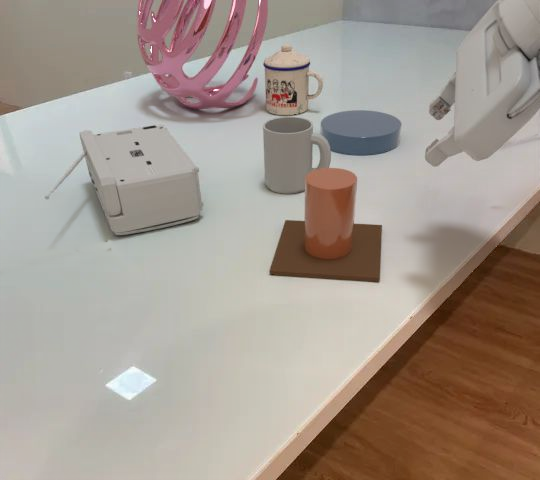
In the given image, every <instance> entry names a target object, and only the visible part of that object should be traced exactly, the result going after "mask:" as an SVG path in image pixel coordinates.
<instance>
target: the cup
mask: <svg viewBox="0 0 540 480" xmlns="http://www.w3.org/2000/svg"><path fill="white" fill-rule="evenodd" d="M262 131H263V132H262V137H263V139H262V140H263V167H264V183H265V185H266V187H267V189H269V191H271V192H273V193H277V194H284V195H292V194H298V193H302V192H305V177H306V175H307V174H308V173H310V172H312V171H314V170H317V169H322V168H330V166H331V162H332V151H331V150H330V146H329V143H328V141H327V140H326V139H325V138H324V136H323V135H320V133H318V132H314V123H313V122H312V121H311V120H309V119H308V118H304V117H300V116H299V117H298V116H279V117H275V118H271V119H268V120H266V121H265V122H264V123H263V124H262ZM313 145H316V146H317V147H318V151H319V161H318V162H319V163H318V164H317V166H316V167H313Z"/></svg>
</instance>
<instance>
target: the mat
mask: <svg viewBox="0 0 540 480" xmlns="http://www.w3.org/2000/svg"><path fill="white" fill-rule="evenodd" d="M304 224H305V220H295V219H294V220H292V219H285V220H284V223H283V227H282V230H281V233H280V236H279V239H278V243H277V245H276V249H275V251H274V254H273V258H272V261H271V265H270V267H269V275H270V274H274V275H273V276H281V275H286V276H285V277H296V276H297V277H298V278H311V279H314V278H315V279H325V280H326V279H327V280H342V281H343V280H344V281H355V282H357V281H358V282H372V283H380V281H381V263H382V260H381V258H382V238H383V237H382V236H383V225H382V224H370V223H354V229H353V243H352V250H351V252H350V253H349V254H347V255H346V256H344V257H341V258H337V259H321V258H316V257H314V256H311V255H310V254H308V253H307V252H306V251H305V248H304ZM297 277H296V278H297Z"/></svg>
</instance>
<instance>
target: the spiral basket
mask: <svg viewBox="0 0 540 480" xmlns="http://www.w3.org/2000/svg"><path fill="white" fill-rule="evenodd" d="M154 1H155V0H138V3H137V9H136V36H137V43H138V47H139V52H140V55H141V58H142V60H143V63H144V64H145V66H146V67H147V69H148V70H149V72H150V73H151V74H152V77H153V79H154V80H155V82H156V83H157V85H158V86H159V87H160V89H162V91H164V92H165V93H166V94H168V95H169V96H171V97H174V98H176V99H177V101H179V103H181V104H182V105H183V106H186V107H187V108H190V109H194V110H207V109H225V110H226V109H233V108H238V107H239V106H241V105H243V104H245V103H246V102H248V100H249V99H250V98H252V97H253V95H254V93H255V91H256V88H257V86H258V83H259V82H258V81H259V79H258V77H255V78H254V80H253V82H252V84H251V87H250V89H249V91H247V93H246V94H245V96H243V97H241V99H238V100H237V101H226V100H227V99H228V97H230V96H231V95H232V94H233V93H234V92H235V91H236V90H237V88H238V87H239V86H240V85H241V84H242V83H243V82H245V80H247V79H248V78H249V76H250V75H249V74H248V73H249V71H250V70H251V68H252V66H253V64H254V62H255V61H256V58H257V55H258V54H259V51H260V49H261V46H262V43H263V40H264V36H265V32H266V29H267V23H268V17H269V0H258V3H257V13H256V14H257V15H256V18H255V24H254V27H253V31H252V34H251V37H250V41H249V43H248V46H247V48H246V50H245V53H244V54H243V56H242V59H241V60H240V62H239V64H238V65H237V68H236V69H235V71H234V72H233V74H232V75H231V76H230V78H229V79H228V80H227V81H226V83H224V84H219V85H213V86H207V85H208V84H210V82H211V81H212V80H213V78H215V76H216V75H217V74H218V72H219V71H220V70H221V69H222V67H223V65H224V64H225V63H226V60H227V58H228V57H229V56H230V53H231V52H232V49H233V48H234V45H235V43H236V40H237V38H238V35H239V33H240V30H241V26H242V23H243V20H244V15H245V11H246V5H247V0H231V7H230V11H229V15H228V18H227V21H226V24H225V26H224V30H223V32H222V35H221V38H220V40H219V41H218V43H217V44H216V47H215V49H214V51H213V52H212V54H211V56H210V57H209V59H208V60H207V62H206V63H205V64H204V66H203V67H202V68H201V69H200V70H199V71H198V73H196V74H195V75H194V76H192V77H190V76H188V75H187V74H186V73H185V71H184V70H183V66H184V64H185V63H186V62H187V61H188V60H189V59H190V58H191V57H192V55H193V54H194V52H195V51H196V50H197V48H198V46H199V44H200V43H201V41H202V39H203V38H204V36H205V34H206V31H207V29H208V28H209V25H210V22H211V19H212V16H213V13H214V10H215V6H216V2H217V0H186V2H185V0H161V1H160V5H159V6H158V10H157V12H156V14H155V12H154V11H153V10H152V6H153V4H154ZM195 13H196V14H195ZM194 14H195V17H194ZM149 17H150V22H151V27H150V28H147V26H148V22H149V21H148V20H149ZM193 18H194V19H193ZM192 19H193V20H192ZM191 21H193V22H192V23H191ZM190 23H191V25H190ZM189 25H190V27H189ZM174 26H175V27H174ZM172 28H174V31H173V33H172V37H171V41H170V45H169V48H168V46H167V44H166V40H165V39H166V36H167V35H168V34H169V33H170V31H171V30H172ZM188 28H189V29H188ZM146 45H147V46H149V56H148V52H147V49H146ZM160 54H161V60H160V58H159V56H160ZM187 97H188V98H189V97H191V98H194V99H195V100H197V101H199V102H190V101H189V100H188V99H187Z"/></svg>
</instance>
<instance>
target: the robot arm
mask: <svg viewBox="0 0 540 480" xmlns="http://www.w3.org/2000/svg"><path fill="white" fill-rule="evenodd" d="M455 53H456V54H455V57H456V58H455V71H454V72H453V74H451V76H450V77H449V78H448V80H447V81H446V83H445V85H444V86H443V87H442V89H441V90H440V92H439V94H437V96H436V97H435V98H434V99H433V100H432V101H431V102H430V103H429V108H428V114H429V115H430V116H431V117H433V119H434V120H436V121H440V120H442V119H444V117H445V116H446V115H447V114H448V113H449V112H451V109H452V106H453V105H454V116H453V126H452V127H451V128H450V129H449V130H448V133H447V135H445V136H444V137H442V138H441V139H438V138H435V139H434V140H433V141H432V142H431V143H430V145H428V146H426V149H425V152H424V153H425V154H424V160H425V161H426V162H427V163H428V164H429V165H431V167H434V168H435V167H436V168H437V167H440V165H441V164H442V163H443V162H445V161H446V160H448V158H450V157H453V156H456V155H458V154H461V153H463V152H464V153H465V154H466V155H467V156H468V157H470V158H471V159H472V160H474V161H475V162H481V161H483V160H487V159H489V158H490V157H492V156H493V155H494V154H496V152H497V151H498V150H500V149H501V148H502V147H503V146H504V145H505V144H506V143H507V142H508V141H509V140H510V139H511V138H512V137H514V136H515V135H516V134H517V133H518V132H519V131H520V130H521V129H522V128H523V127H524V126H525V125H526V124H527V123H529V122H530V120H531V119H533V117H534V116H535V115H536V114H537V113H538V112H539V110H540V0H496V1H495V2H494V3H493V5H492V6H491V7H490V8H489V9H488V10H487V11H486V13H484V15H482V17H481V18H480V19H479V20H478V22H476V24H475V25H474V27H472V29H471V30H470V32H469V33H468V34H467V35H466V37H465V38H464V39H463V41H462V42H461V44H460V45H459V47H458V49H457V51H456V52H455Z"/></svg>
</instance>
